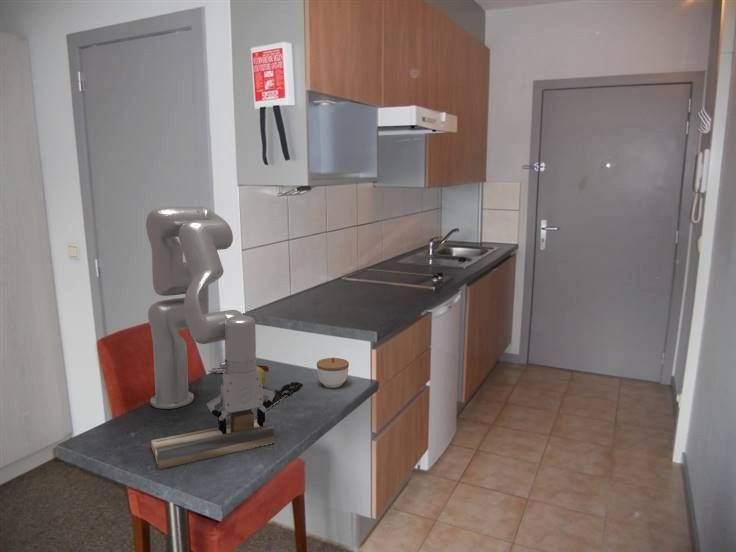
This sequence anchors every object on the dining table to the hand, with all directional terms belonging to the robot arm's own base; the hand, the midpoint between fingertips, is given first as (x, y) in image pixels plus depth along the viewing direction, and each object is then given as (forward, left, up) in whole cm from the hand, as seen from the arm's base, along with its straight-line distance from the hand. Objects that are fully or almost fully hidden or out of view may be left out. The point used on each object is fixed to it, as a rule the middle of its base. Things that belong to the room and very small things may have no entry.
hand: (242, 429), depth 140 cm
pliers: (-53, +15, -4) cm, 56 cm away
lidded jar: (-28, +39, -4) cm, 48 cm away
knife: (-25, +19, -4) cm, 32 cm away
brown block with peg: (-2, 0, -1) cm, 3 cm away
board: (-2, -7, -4) cm, 8 cm away
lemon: (-35, +15, -4) cm, 38 cm away
